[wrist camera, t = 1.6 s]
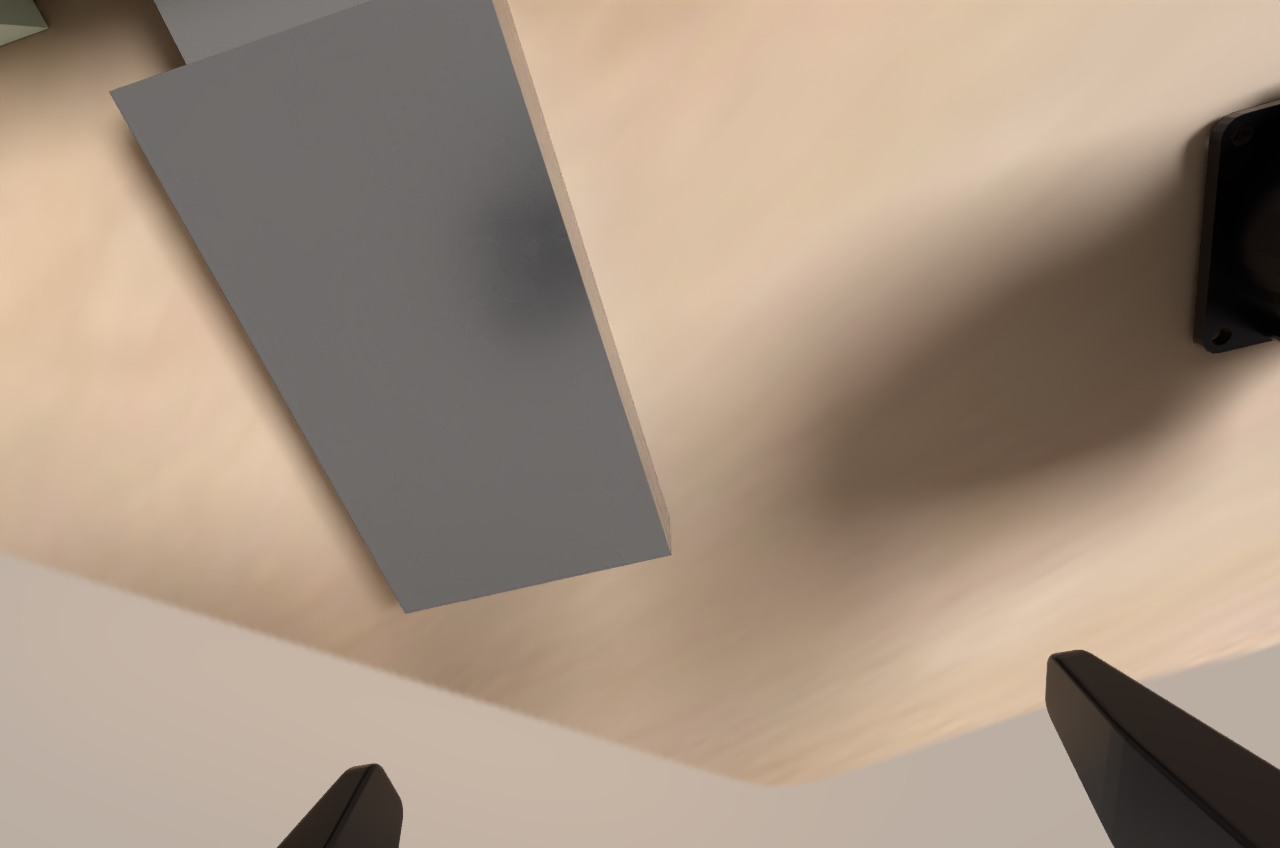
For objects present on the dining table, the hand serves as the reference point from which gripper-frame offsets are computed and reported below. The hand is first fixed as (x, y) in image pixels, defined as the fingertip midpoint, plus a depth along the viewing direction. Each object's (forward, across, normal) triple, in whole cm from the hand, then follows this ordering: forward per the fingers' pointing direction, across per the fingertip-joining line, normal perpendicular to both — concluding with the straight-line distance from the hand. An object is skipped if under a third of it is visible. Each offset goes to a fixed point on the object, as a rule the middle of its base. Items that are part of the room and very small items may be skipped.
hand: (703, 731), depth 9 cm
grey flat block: (+13, +6, -2) cm, 15 cm away
